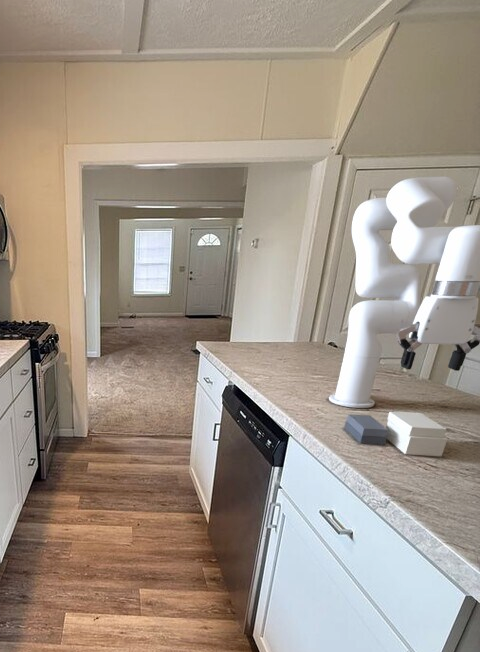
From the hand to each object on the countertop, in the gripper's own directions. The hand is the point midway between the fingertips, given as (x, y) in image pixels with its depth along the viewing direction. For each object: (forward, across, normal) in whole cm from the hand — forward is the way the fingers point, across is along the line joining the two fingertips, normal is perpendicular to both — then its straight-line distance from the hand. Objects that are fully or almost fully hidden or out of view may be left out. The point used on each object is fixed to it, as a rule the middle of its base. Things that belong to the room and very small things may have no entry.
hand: (429, 368), depth 92 cm
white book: (+14, 0, +1) cm, 15 cm away
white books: (+19, 0, +2) cm, 19 cm away
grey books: (+19, +8, -3) cm, 21 cm away
